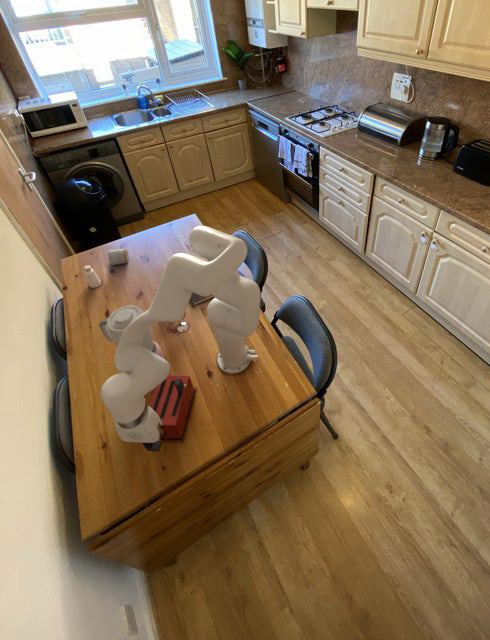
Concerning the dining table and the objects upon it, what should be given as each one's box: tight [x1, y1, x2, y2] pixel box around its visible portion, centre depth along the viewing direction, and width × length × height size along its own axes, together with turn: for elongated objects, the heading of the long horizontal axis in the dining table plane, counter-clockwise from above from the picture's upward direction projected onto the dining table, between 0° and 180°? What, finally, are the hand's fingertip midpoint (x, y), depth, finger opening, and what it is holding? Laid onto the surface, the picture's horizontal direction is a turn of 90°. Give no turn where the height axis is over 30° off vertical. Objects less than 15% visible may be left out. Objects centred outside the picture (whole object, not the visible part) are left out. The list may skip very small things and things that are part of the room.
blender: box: [98, 304, 166, 360], centre depth 117 cm, size 16×12×32 cm
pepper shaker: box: [83, 264, 102, 289], centre depth 160 cm, size 5×5×11 cm
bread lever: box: [145, 437, 163, 452], centre depth 100 cm, size 4×6×1 cm, turn 178°
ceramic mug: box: [107, 248, 130, 266], centre depth 175 cm, size 11×8×8 cm
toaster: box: [148, 374, 196, 441], centre depth 111 cm, size 10×16×10 cm, turn 177°
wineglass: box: [176, 311, 189, 333], centre depth 139 cm, size 6×6×12 cm
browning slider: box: [174, 379, 184, 392], centre depth 109 cm, size 2×2×4 cm
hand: (150, 443), depth 97 cm, fingers closed
